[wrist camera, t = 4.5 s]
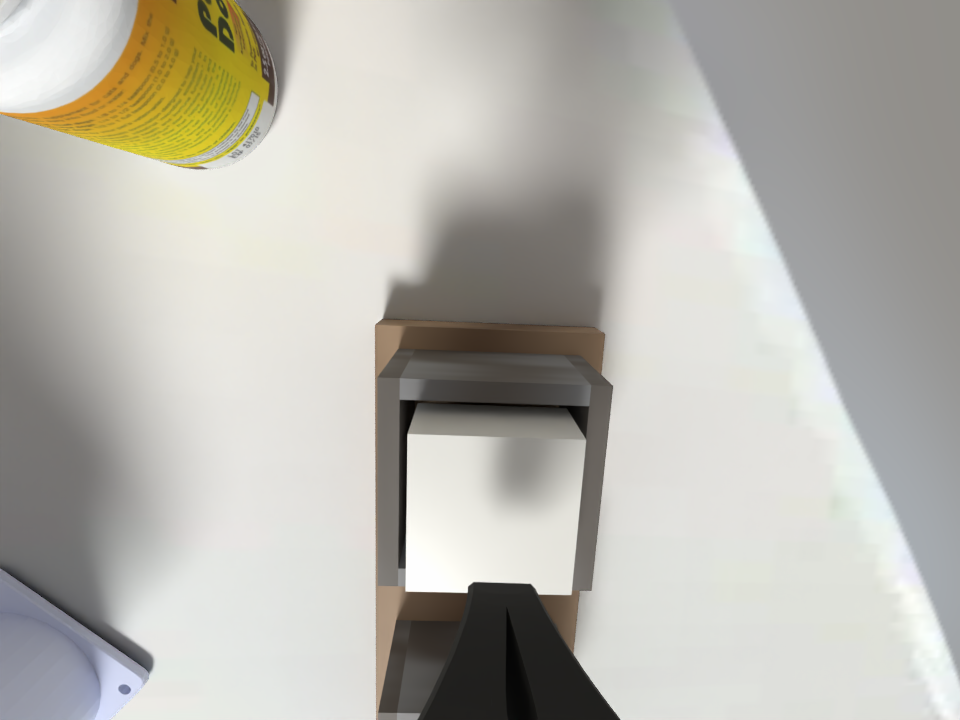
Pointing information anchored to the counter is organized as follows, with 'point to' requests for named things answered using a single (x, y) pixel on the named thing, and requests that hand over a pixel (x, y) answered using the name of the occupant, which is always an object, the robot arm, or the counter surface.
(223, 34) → the supplement bottle
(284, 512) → the counter surface
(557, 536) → the white key
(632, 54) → the counter surface
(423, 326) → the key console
